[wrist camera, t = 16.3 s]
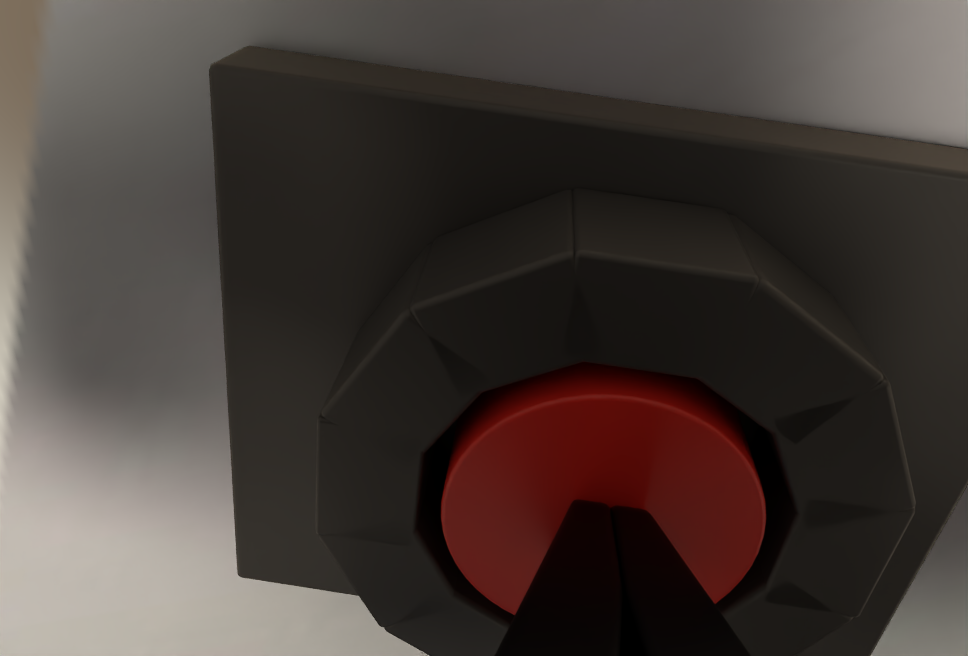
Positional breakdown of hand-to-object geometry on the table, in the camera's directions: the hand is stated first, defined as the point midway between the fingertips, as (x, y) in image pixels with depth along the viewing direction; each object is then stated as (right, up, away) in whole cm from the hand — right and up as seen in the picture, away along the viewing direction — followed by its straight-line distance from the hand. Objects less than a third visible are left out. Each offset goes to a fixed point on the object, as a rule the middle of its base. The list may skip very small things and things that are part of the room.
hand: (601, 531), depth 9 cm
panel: (0, +2, +3) cm, 3 cm away
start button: (0, +1, +2) cm, 2 cm away
